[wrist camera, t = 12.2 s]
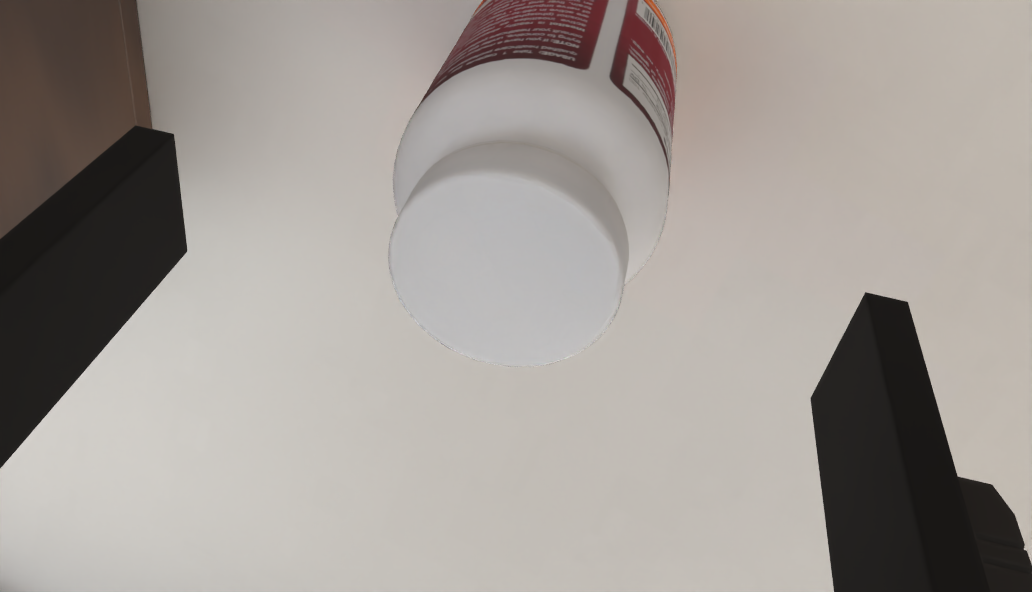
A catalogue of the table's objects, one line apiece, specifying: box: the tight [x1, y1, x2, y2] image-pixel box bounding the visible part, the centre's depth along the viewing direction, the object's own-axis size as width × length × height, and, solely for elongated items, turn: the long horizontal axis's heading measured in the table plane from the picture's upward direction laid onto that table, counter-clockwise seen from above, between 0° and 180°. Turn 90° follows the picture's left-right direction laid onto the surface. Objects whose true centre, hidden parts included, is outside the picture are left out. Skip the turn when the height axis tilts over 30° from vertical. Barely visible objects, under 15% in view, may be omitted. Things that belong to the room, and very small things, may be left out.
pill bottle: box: [389, 0, 677, 367], centre depth 21 cm, size 6×6×11 cm
